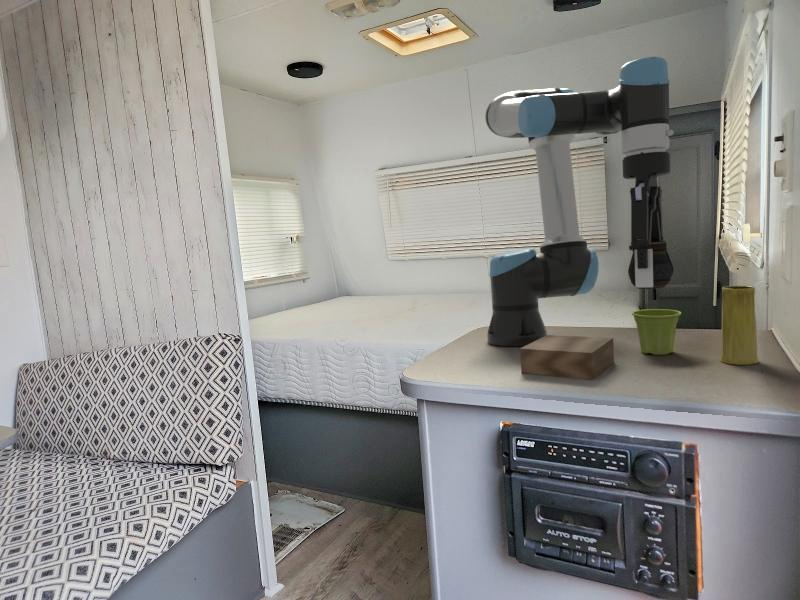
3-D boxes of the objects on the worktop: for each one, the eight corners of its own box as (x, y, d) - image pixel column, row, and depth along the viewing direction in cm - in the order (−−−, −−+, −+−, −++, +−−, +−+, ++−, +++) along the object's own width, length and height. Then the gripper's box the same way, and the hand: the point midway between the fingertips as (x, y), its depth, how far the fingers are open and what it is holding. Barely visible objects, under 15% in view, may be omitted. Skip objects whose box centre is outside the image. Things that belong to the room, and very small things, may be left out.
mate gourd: (642, 291, 89) (639, 233, 88) (620, 288, 97) (617, 234, 96) (682, 287, 90) (680, 229, 89) (657, 284, 97) (655, 230, 96)
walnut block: (521, 373, 104) (520, 348, 103) (547, 357, 115) (546, 335, 114) (593, 379, 95) (592, 352, 95) (614, 361, 106) (613, 337, 106)
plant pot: (671, 346, 116) (669, 307, 115) (690, 355, 106) (689, 313, 105) (627, 348, 117) (625, 310, 116) (642, 358, 107) (641, 317, 106)
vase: (729, 366, 97) (728, 290, 95) (714, 358, 103) (713, 286, 101) (765, 364, 96) (764, 287, 94) (748, 357, 102) (747, 284, 100)
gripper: (658, 144, 80) (661, 291, 83) (679, 154, 96) (681, 277, 99) (607, 152, 85) (612, 291, 88) (635, 160, 101) (639, 278, 104)
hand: (649, 284), depth 93 cm, fingers closed on mate gourd, 7 cm apart
